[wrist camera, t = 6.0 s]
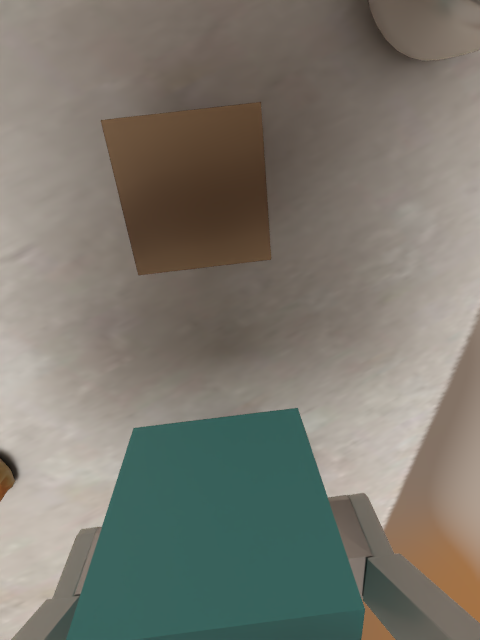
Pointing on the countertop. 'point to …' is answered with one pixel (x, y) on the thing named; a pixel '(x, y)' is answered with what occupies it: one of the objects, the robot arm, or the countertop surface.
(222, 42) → the countertop surface
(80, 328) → the countertop surface
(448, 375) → the countertop surface
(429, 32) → the plastic bottle
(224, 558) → the teal block
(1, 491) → the pastry
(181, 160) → the walnut block
